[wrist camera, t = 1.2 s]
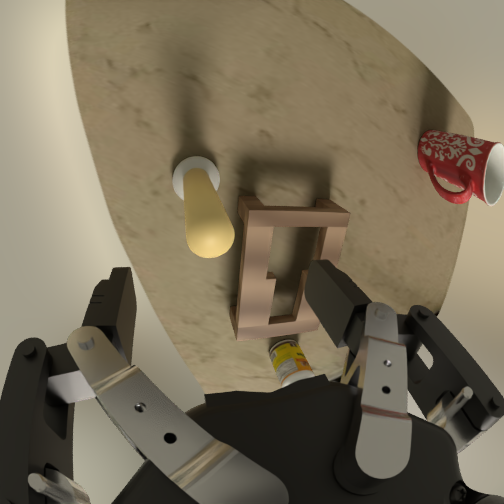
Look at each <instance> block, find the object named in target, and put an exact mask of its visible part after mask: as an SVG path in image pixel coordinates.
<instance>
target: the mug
mask: <svg viewBox="0 0 504 504" xmlns="http://www.w3.org/2000/svg"><path fill="white" fill-rule="evenodd" d="M418 159H419V163H420V165H421V167H422V168H423V170H425V171H426V172H428V173H429V176H430V179H431V181H432V183H433V185H434V187H435V189H436V191H437V192H438V193H439V195H440V196H441V197H443V198H444V199H445V200H447V201H449V202H451V203H455V204H462V203H465V202H467V201H468V200H469V199H470V198H471V196H472V195H474V196H476V197H477V198H479V199H481V200H483V201H484V202H485V203H486V204H487V205H489V206H493V205H494V204H496V203H497V201H498V200H499V198H500V196H501V194H502V192H503V189H504V146H503V145H502V144H501V143H500V142H495V143H494V142H490V141H485V140H482V139H478V138H473V137H468V136H464V135H458V134H453V133H447V132H442V131H437V130H428V131H427V132H425V133H424V134H423V136H422V137H421V139H420V142H419V146H418ZM435 176H437V177H439V178H441V179H443V180H445V181H447V182H449V183H451V184H453V185H455V186H457V187H459V188H461V189H463V191H461V192H451V191H448V190H446V189H444V188H443V187H442V186H441V185H440V184H439V183H438V181H437V180H436V177H435Z"/></svg>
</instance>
